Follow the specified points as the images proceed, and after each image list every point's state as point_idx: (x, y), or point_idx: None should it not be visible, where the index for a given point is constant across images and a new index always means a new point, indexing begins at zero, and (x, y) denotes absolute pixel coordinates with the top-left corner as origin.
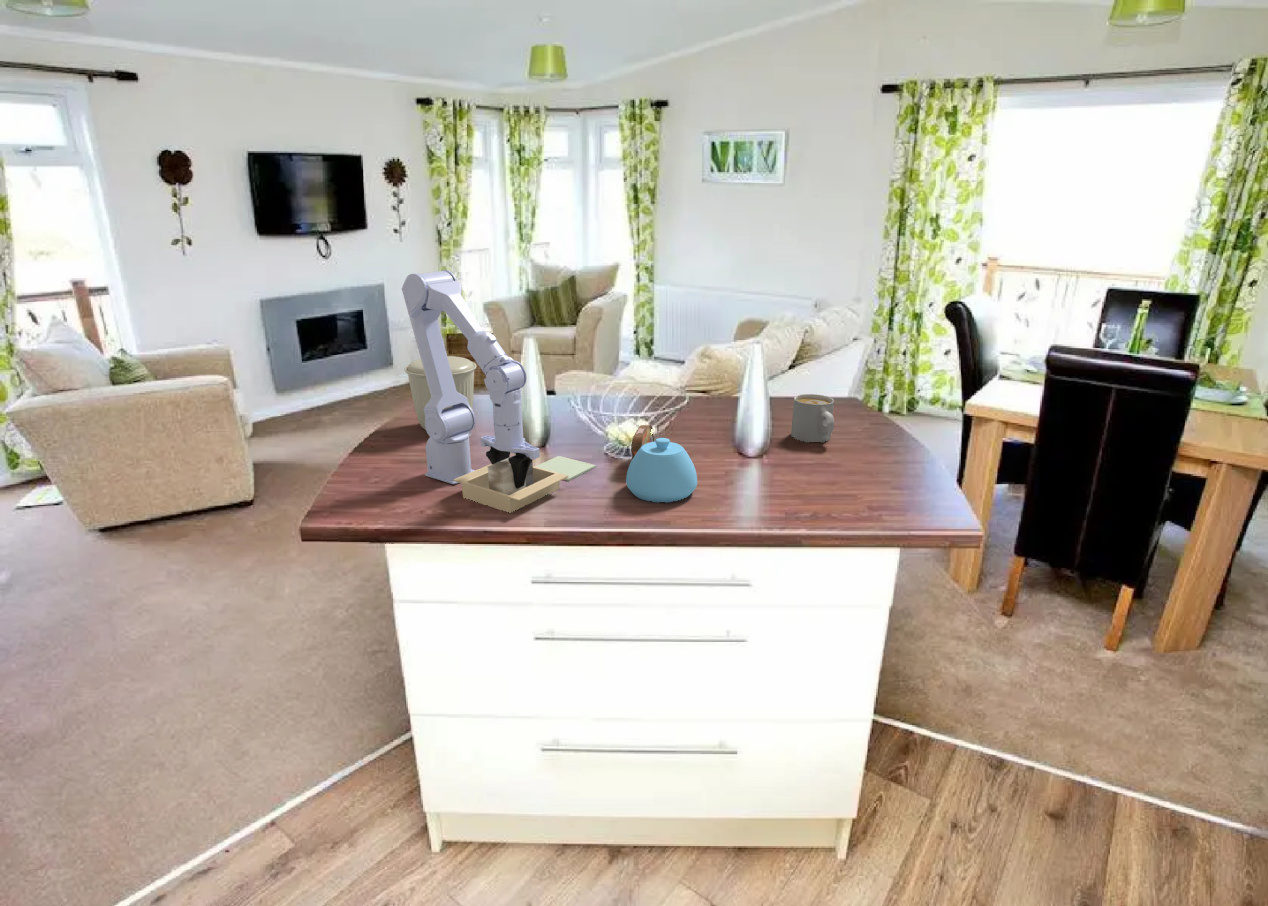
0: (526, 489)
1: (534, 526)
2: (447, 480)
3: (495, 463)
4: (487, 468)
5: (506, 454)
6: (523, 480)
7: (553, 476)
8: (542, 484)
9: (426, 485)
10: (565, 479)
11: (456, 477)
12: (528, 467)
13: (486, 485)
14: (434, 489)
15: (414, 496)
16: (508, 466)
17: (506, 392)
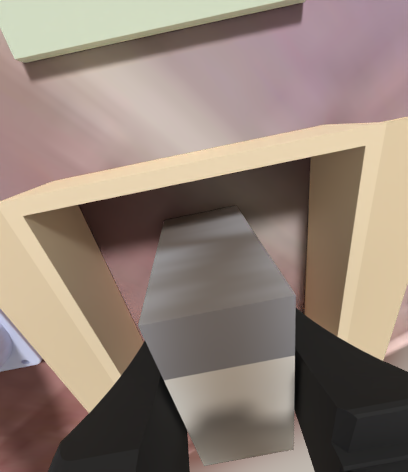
0: (352, 336)
1: (402, 333)
2: (10, 368)
3: (197, 445)
4: (58, 340)
5: (163, 429)
6: None
7: (381, 185)
8: (382, 278)
9: (8, 392)
10: (282, 5)
11: (7, 356)
12: (325, 331)
13: (126, 321)
14: (49, 388)
15: (70, 419)
16: (279, 425)
17: None
